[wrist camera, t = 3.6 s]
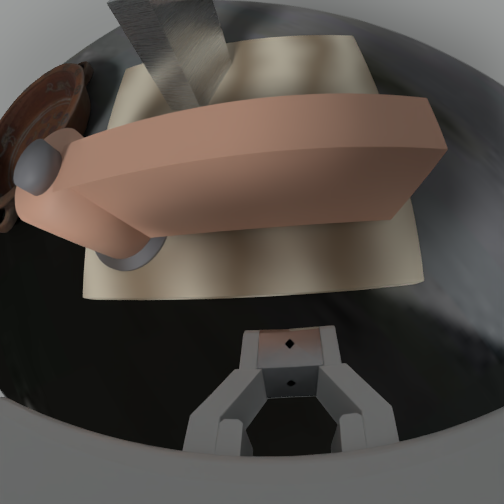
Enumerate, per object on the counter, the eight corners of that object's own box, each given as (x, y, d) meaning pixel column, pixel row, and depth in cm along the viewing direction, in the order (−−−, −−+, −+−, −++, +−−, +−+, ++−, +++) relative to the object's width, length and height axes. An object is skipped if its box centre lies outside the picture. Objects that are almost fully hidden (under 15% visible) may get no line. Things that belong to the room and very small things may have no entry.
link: (93, 261, 18) (-10, 221, 9) (101, 195, 19) (16, 133, 11) (393, 240, 16) (473, 163, 7) (379, 164, 17) (423, 58, 8)
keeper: (228, 117, 20) (180, -14, 9) (171, 109, 21) (106, 3, 10) (255, 67, 21) (229, -49, 10) (202, 62, 22) (160, -38, 11)
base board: (351, 46, 22) (353, 32, 20) (415, 284, 17) (426, 280, 15) (131, 77, 25) (124, 66, 24) (94, 299, 20) (79, 297, 18)
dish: (-16, 224, 26) (-42, 212, 21) (53, 83, 29) (35, 64, 25) (52, 256, 22) (13, 243, 17) (141, 67, 26) (123, 37, 21)
